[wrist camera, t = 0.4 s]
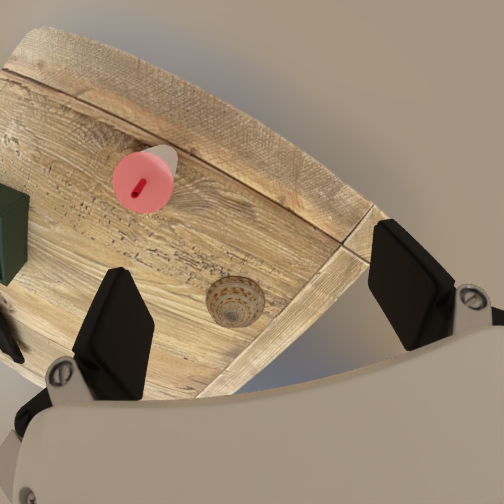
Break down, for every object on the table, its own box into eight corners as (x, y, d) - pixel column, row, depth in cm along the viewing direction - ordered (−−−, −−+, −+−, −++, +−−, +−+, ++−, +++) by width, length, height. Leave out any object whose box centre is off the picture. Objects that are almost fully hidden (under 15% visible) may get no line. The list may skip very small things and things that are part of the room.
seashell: (220, 338, 41) (202, 321, 34) (215, 305, 44) (197, 284, 37) (272, 326, 40) (264, 306, 34) (264, 293, 44) (255, 268, 37)
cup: (192, 142, 28) (174, 171, 18) (179, 186, 30) (158, 237, 20) (147, 130, 26) (104, 153, 16) (136, 175, 29) (95, 220, 19)
